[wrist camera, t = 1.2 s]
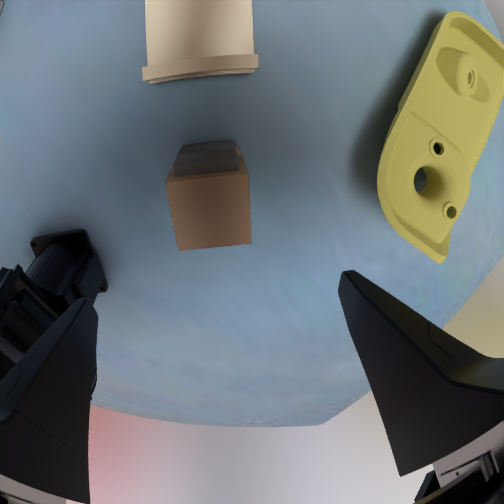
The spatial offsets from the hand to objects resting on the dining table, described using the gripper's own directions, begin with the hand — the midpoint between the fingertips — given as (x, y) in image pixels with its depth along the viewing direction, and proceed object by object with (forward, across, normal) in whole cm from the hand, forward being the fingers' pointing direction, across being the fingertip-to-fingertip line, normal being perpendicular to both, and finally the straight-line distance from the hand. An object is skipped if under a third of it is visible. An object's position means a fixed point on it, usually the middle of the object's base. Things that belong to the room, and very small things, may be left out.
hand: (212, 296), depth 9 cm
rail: (+12, 0, -15) cm, 19 cm away
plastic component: (+12, -19, -5) cm, 23 cm away
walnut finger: (+12, 0, 0) cm, 12 cm away
